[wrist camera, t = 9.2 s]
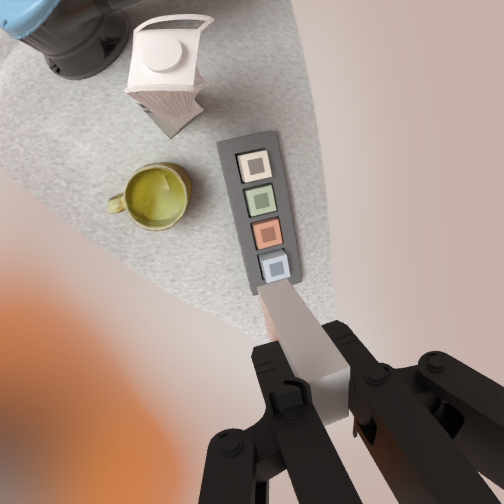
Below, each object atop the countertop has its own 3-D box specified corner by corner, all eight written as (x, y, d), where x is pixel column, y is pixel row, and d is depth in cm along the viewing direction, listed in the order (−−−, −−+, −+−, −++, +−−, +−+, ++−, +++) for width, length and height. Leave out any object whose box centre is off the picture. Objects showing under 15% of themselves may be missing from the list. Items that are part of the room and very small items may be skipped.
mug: (200, 150, 41) (184, 173, 33) (199, 209, 47) (185, 244, 39) (126, 148, 41) (96, 171, 33) (131, 204, 47) (107, 236, 39)
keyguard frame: (216, 142, 43) (217, 142, 41) (271, 131, 44) (275, 130, 42) (250, 289, 52) (253, 295, 50) (297, 276, 53) (302, 281, 51)
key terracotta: (250, 221, 48) (253, 225, 45) (273, 215, 48) (278, 219, 45) (255, 243, 49) (258, 249, 47) (277, 237, 50) (282, 243, 47)
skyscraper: (183, 74, 38) (171, -21, 12) (216, 108, 41) (246, 46, 15) (142, 108, 39) (74, 53, 13) (174, 143, 42) (143, 127, 16)
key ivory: (236, 155, 43) (239, 155, 40) (262, 150, 43) (266, 150, 40) (242, 180, 44) (245, 182, 41) (267, 175, 45) (272, 176, 42)
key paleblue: (258, 254, 49) (262, 261, 46) (281, 248, 49) (286, 254, 46) (262, 275, 50) (267, 283, 47) (285, 269, 50) (290, 276, 48)
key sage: (243, 189, 46) (246, 191, 43) (266, 183, 46) (271, 185, 44) (248, 212, 47) (251, 216, 45) (271, 207, 48) (276, 210, 45)
